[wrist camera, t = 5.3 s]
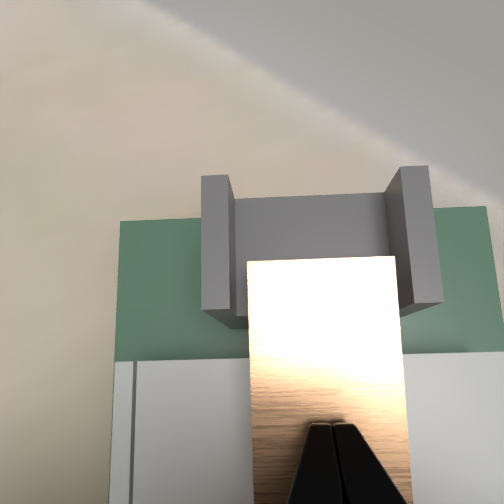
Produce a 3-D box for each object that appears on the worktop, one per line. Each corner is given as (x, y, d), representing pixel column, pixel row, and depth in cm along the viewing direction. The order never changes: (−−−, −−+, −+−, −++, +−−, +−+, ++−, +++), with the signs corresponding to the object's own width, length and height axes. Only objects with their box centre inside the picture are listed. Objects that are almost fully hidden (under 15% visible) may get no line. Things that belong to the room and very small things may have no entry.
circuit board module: (549, 723, 13) (826, 1097, 7) (108, 717, 14) (-53, 1053, 7) (476, 213, 17) (608, 114, 10) (127, 227, 18) (31, 143, 11)
